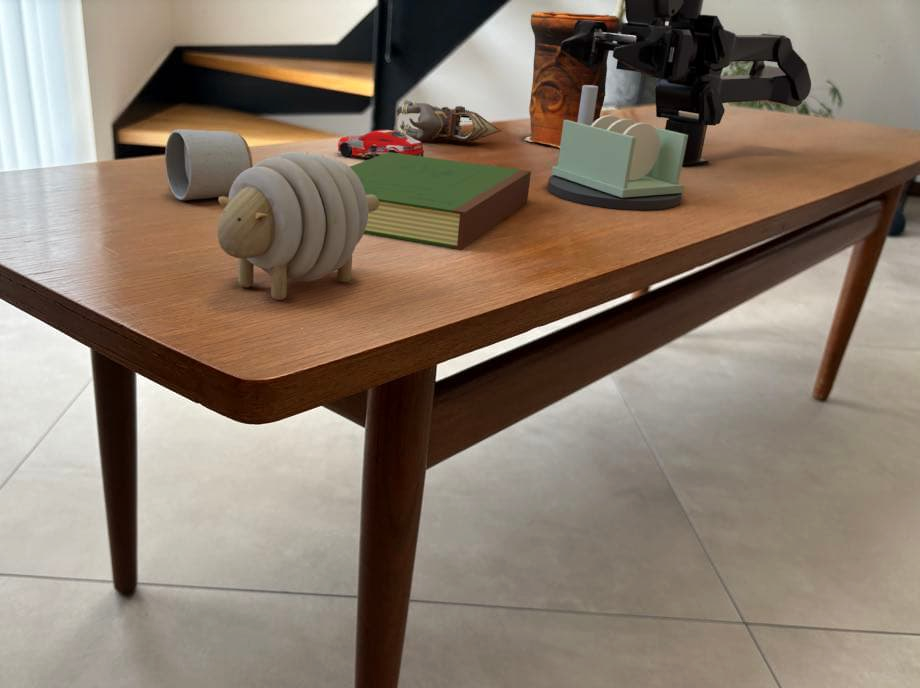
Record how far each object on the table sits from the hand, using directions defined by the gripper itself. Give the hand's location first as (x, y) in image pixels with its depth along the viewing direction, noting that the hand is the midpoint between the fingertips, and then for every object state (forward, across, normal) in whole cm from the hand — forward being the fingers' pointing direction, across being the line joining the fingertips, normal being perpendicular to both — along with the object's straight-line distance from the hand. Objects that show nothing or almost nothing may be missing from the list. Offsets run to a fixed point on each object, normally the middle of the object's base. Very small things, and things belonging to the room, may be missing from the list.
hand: (587, 49), depth 117 cm
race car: (+19, -20, +17) cm, 32 cm away
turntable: (+4, +11, +16) cm, 20 cm away
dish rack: (+3, +10, +15) cm, 19 cm away
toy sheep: (+59, +23, +17) cm, 65 cm away
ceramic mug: (+52, -10, +17) cm, 55 cm away
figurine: (-1, -28, +17) cm, 33 cm away
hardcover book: (+33, +7, +17) cm, 37 cm away
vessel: (-19, -20, +17) cm, 32 cm away
